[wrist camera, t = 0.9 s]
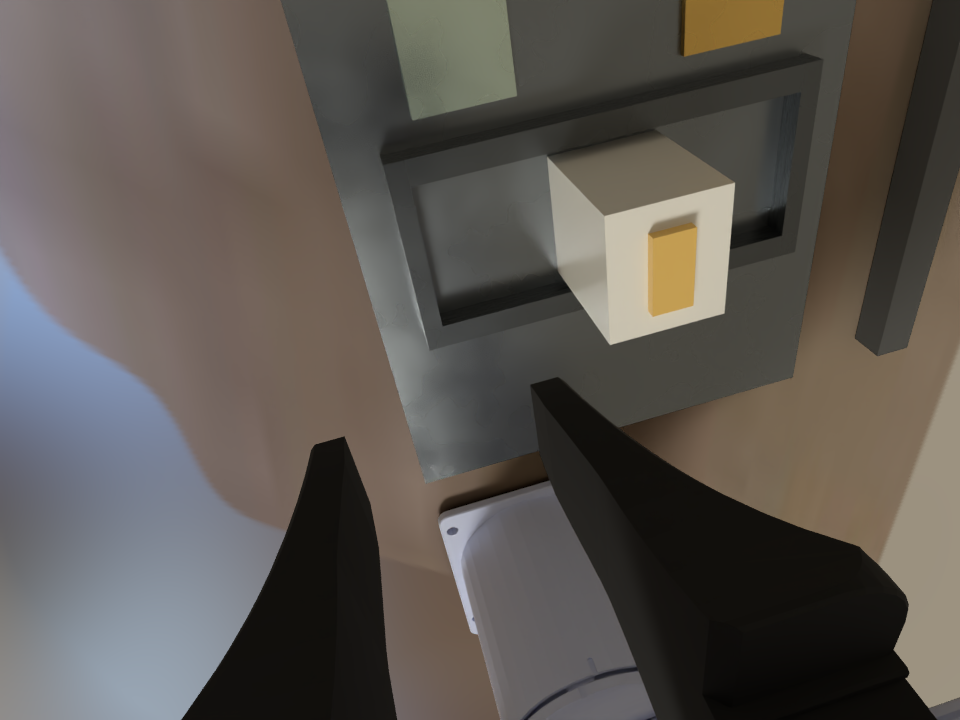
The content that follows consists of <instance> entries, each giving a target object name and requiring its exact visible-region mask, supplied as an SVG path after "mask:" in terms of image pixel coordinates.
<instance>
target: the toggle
mask: <svg viewBox="0 0 960 720" xmlns="http://www.w3.org/2000/svg"><path fill="white" fill-rule="evenodd" d="M547 162H548V172H549V183H550V193H551V204H552V214H553V225H554V235H555V245H556V256H557V266H558V272H559V274H560V275H561V277H562V278H563V279H564V281H565V282H566V284H567V285H568V286H569V288H570V289H571V291H572V292H573V294H574V295H575V296H576V298H577V299H578V301H579V302H580V303H581V305H582V306H583V308H584V309H585V310H586V312H587V313H588V315H589V316H590V318H591V319H592V320H593V322H594V323H595V325H596V326H597V327H598V329H599V330H600V332H601V333H602V334H603V336H604V337H605V339H606V340H607V342H608V343H609V344H610V345H612V344H616V343H619V342H623V341H627V340H630V339H634V338H637V337H641V336H645V335H648V334H652V333H655V332H659V331H663V330H666V329H670V328H674V327H677V326H681V325H684V324H688V323H692V322H695V321H699V320H702V319H706V318H710V317H713V316H717V315H720V314H724V312H725V300H726V288H727V276H728V264H729V252H730V239H731V227H732V215H733V203H734V191H735V182H733V181H732V180H730V179H729V178H727V177H726V176H724V175H723V174H721V173H720V172H718V171H717V170H715V169H714V168H712V167H711V166H709V165H708V164H706V163H705V162H703V161H702V160H700V159H699V158H697V157H696V156H694V155H693V154H691V153H690V152H688V151H687V150H685V149H684V148H683V147H681V146H680V145H678V144H677V143H675V142H674V141H672V140H671V139H669V138H668V137H666V136H665V135H663V134H662V133H660V132H659V131H657V130H654V131H650V132H646V133H641V134H637V135H633V136H629V137H625V138H621V139H617V140H613V141H609V142H605V143H601V144H597V145H593V146H589V147H584V148H580V149H576V150H572V151H568V152H564V153H560V154H556V155H552V156H548V157H547Z"/></svg>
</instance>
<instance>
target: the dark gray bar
mask: <svg viewBox="0 0 960 720" xmlns="http://www.w3.org/2000/svg"><path fill="white" fill-rule="evenodd" d="M959 168H960V0H933V4H932V8H931V12H930V17H929V21H928V25H927V30H926V34H925V38H924V43H923V47H922V51H921V55H920V60H919V64H918V68H917V73H916V77H915V81H914V86H913V90H912V94H911V99H910V103H909V107H908V112H907V116H906V120H905V125H904V129H903V133H902V138H901V142H900V146H899V151H898V155H897V159H896V164H895V168H894V172H893V177H892V181H891V185H890V189H889V194H888V198H887V202H886V207H885V211H884V215H883V220H882V224H881V228H880V233H879V237H878V241H877V246H876V250H875V254H874V259H873V263H872V267H871V272H870V276H869V280H868V285H867V289H866V293H865V298H864V302H863V306H862V310H861V315H860V319H859V323H858V328H857V332H856V336H855V339H856V340H858V341H859V342H860V343H861V344H863V345H864V346H865V347H866V348H868V349H869V350H870V351H871V352H873V353H874V354H875V355H876V356H880V355H883V354H887V353H890V352H894V351H897V350H900V349H904V348H907V346H908V342H909V339H910V335H911V332H912V328H913V325H914V322H915V318H916V315H917V311H918V308H919V305H920V301H921V298H922V294H923V291H924V287H925V284H926V281H927V277H928V274H929V270H930V267H931V264H932V260H933V257H934V253H935V250H936V246H937V243H938V240H939V236H940V233H941V229H942V226H943V223H944V219H945V216H946V212H947V209H948V205H949V202H950V199H951V195H952V192H953V188H954V185H955V181H956V178H957V175H958V171H959Z"/></svg>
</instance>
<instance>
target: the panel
mask: <svg viewBox="0 0 960 720" xmlns="http://www.w3.org/2000/svg"><path fill="white" fill-rule="evenodd" d="M281 3H282V6H283V9H284V13H285V16H286V19H287V23H288V26H289V29H290V33H291V36H292V39H293V43H294V46H295V49H296V53H297V56H298V59H299V63H300V66H301V69H302V73H303V76H304V79H305V83H306V86H307V89H308V93H309V96H310V99H311V103H312V106H313V109H314V113H315V116H316V119H317V123H318V126H319V129H320V133H321V136H322V139H323V143H324V146H325V149H326V153H327V156H328V159H329V163H330V166H331V169H332V173H333V176H334V179H335V183H336V186H337V189H338V193H339V196H340V199H341V203H342V206H343V209H344V213H345V216H346V219H347V223H348V226H349V229H350V233H351V236H352V239H353V243H354V246H355V249H356V253H357V256H358V259H359V263H360V266H361V269H362V273H363V276H364V279H365V283H366V286H367V289H368V293H369V296H370V299H371V303H372V306H373V309H374V313H375V316H376V319H377V323H378V326H379V329H380V333H381V336H382V339H383V343H384V346H385V349H386V353H387V356H388V359H389V363H390V366H391V369H392V373H393V376H394V379H395V383H396V386H397V389H398V393H399V396H400V399H401V403H402V406H403V409H404V413H405V416H406V419H407V423H408V426H409V429H410V433H411V436H412V439H413V443H414V446H415V449H416V453H417V456H418V459H419V463H420V466H421V469H422V473H423V476H424V479H425V483H429V482H433V481H436V480H440V479H443V478H447V477H450V476H454V475H457V474H460V473H464V472H467V471H471V470H474V469H478V468H481V467H485V466H488V465H492V464H495V463H498V462H502V461H505V460H509V459H512V458H516V457H519V456H523V455H526V454H529V453H533V452H536V451H539V445H538V438H537V431H536V424H535V417H534V410H533V403H532V396H531V389H530V384H534V383H538V382H541V381H545V380H548V379H552V378H555V377H559V378H561V379H563V380H564V381H565V382H566V383H567V384H568V385H569V386H570V387H571V388H572V389H573V390H574V391H575V392H577V393H578V394H579V395H580V396H581V397H582V398H583V399H584V400H585V401H587V402H588V403H589V404H590V405H591V406H592V407H594V408H595V409H596V410H597V411H598V412H599V413H601V414H602V415H603V416H604V417H605V418H607V419H608V420H609V421H610V422H612V423H613V424H614V425H616V426H617V427H618V428H619V427H623V426H626V425H629V424H633V423H636V422H640V421H643V420H647V419H650V418H654V417H657V416H661V415H664V414H667V413H671V412H674V411H678V410H681V409H685V408H688V407H692V406H695V405H698V404H702V403H705V402H709V401H712V400H716V399H719V398H723V397H726V396H729V395H733V394H736V393H740V392H743V391H747V390H750V389H754V388H757V387H761V386H764V385H767V384H771V383H774V382H778V381H781V380H785V379H788V378H792V377H793V373H794V367H795V361H796V355H797V349H798V343H799V337H800V331H801V325H802V319H803V313H804V307H805V302H806V296H807V290H808V284H809V278H810V272H811V266H812V260H813V254H814V248H815V242H816V236H817V230H818V224H819V219H820V213H821V207H822V201H823V195H824V189H825V183H826V177H827V171H828V165H829V159H830V153H831V147H832V141H833V136H834V130H835V124H836V118H837V112H838V106H839V100H840V94H841V88H842V82H843V76H844V70H845V64H846V58H847V53H848V47H849V41H850V35H851V29H852V23H853V17H854V11H855V5H856V0H281ZM654 130H657V131H659V132H660V133H662V134H663V135H665V136H666V137H668V138H669V139H671V140H672V141H674V142H675V143H677V144H678V145H680V146H681V147H683V148H684V149H685V150H687V151H688V152H690V153H691V154H693V155H694V156H696V157H697V158H699V159H700V160H702V161H703V162H705V163H706V164H708V165H709V166H711V167H712V168H714V169H715V170H717V171H718V172H720V173H721V174H723V175H724V176H726V177H727V178H729V179H730V180H732V181H733V182H735V191H734V203H733V215H732V227H731V239H730V252H729V264H728V276H727V288H726V300H725V312H724V314H720V315H717V316H713V317H710V318H706V319H702V320H699V321H695V322H692V323H688V324H684V325H681V326H677V327H674V328H670V329H666V330H663V331H659V332H655V333H652V334H648V335H645V336H641V337H637V338H634V339H630V340H627V341H623V342H619V343H616V344H612V345H610V344H609V343H608V342H607V340H606V339H605V337H604V336H603V334H602V333H601V332H600V330H599V329H598V327H597V326H596V325H595V323H594V322H593V320H592V319H591V318H590V316H589V315H588V313H587V312H586V310H585V309H584V308H583V306H582V305H581V303H580V302H579V301H578V299H577V298H576V296H575V295H574V294H573V292H572V291H571V289H570V288H569V286H568V285H567V284H566V282H565V281H564V279H563V278H562V277H561V275H560V274H559V272H558V266H557V256H556V245H555V235H554V225H553V214H552V204H551V193H550V183H549V172H548V162H547V157H548V156H552V155H556V154H560V153H564V152H568V151H572V150H576V149H580V148H584V147H589V146H593V145H597V144H601V143H605V142H609V141H613V140H617V139H621V138H625V137H629V136H633V135H637V134H641V133H646V132H650V131H654Z"/></svg>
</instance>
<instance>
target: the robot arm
mask: <svg viewBox="0 0 960 720" xmlns="http://www.w3.org/2000/svg"><path fill="white" fill-rule="evenodd" d="M530 389H531V396H532V403H533V410H534V417H535V424H536V431H537V438H538V445H539V452H540V456H541V459H542V461H543V464H544V467H545V469H546V472H547V475H548V477H549V481H546V482H543V483H539V484H536V485H533V486H529V487H526V488H522V489H519V490H516V491H512V492H509V493H505V494H502V495H499V496H495V497H492V498H488V499H485V500H482V501H478V502H475V503H472V504H468V505H465V506H461V507H458V508H455V509H451V510H448V511H445V512H443V513H442V514H441V515H440V516H439V518H438V523H439V527H440V531H441V534H442V537H443V541H444V544H445V547H446V551H447V554H448V557H449V561H450V564H451V567H452V571H453V574H454V577H455V581H456V584H457V587H458V591H459V594H460V597H461V600H462V604H463V607H464V611H465V614H466V617H467V620H468V624H469V628H470V631H471V632H472V633H474V634H478V635H479V639H480V643H481V647H482V651H483V655H484V658H485V662H486V666H487V670H488V673H489V677H490V681H491V685H492V689H493V693H494V697H495V700H496V704H497V708H498V712H499V716H500V719H501V720H960V698H957V699H954V700H951V701H948V702H946V703H943V704H940V705H937V706H934V707H931V708H928V707H927V706H926V705H925V703H924V702H923V701H922V699H921V698H920V697H919V696H918V694H917V693H916V692H915V690H914V689H913V688H912V687H911V685H910V684H909V683H908V681H907V680H906V679H905V678H907V677H908V675H909V671H908V668H907V666H906V665H905V664H904V662H903V661H902V660H901V659H900V657H899V656H898V655H897V654H896V652H895V651H894V650H893V649H894V647H895V645H896V642H897V640H898V638H899V635H900V633H901V631H902V628H903V626H904V624H905V621H906V617H907V612H908V605H909V604H908V601H907V598H906V595H905V594H904V593H903V592H902V591H901V589H900V588H899V587H898V586H897V585H896V584H895V583H894V581H893V580H892V579H891V578H890V577H889V576H888V575H887V573H886V572H885V571H884V570H883V569H882V568H881V567H880V566H879V565H878V564H877V563H876V562H875V561H874V560H872V559H871V558H870V557H869V556H868V555H867V554H866V553H865V552H864V551H863V550H862V549H861V548H860V547H859V546H856V545H853V544H850V543H846V542H843V541H840V540H837V539H834V538H831V537H828V536H825V535H822V534H819V533H815V532H812V531H809V530H806V529H803V528H801V527H798V526H795V525H793V524H790V523H788V522H785V521H782V520H780V519H777V518H775V517H772V516H770V515H767V514H765V513H762V512H760V511H758V510H756V509H754V508H751V507H749V506H747V505H745V504H743V503H741V502H738V501H736V500H734V499H732V498H730V497H728V496H725V495H723V494H721V493H719V492H718V491H716V490H714V489H712V488H710V487H708V486H706V485H704V484H703V483H701V482H699V481H697V480H695V479H694V478H692V477H690V476H689V475H687V474H685V473H683V472H682V471H680V470H678V469H677V468H675V467H674V466H672V465H670V464H669V463H667V462H666V461H664V460H663V459H661V458H660V457H658V456H657V455H655V454H654V453H652V452H651V451H649V450H648V449H646V448H645V447H643V446H642V445H641V444H639V443H638V442H637V441H635V440H634V439H632V438H631V437H630V436H628V435H627V434H626V433H625V432H623V431H622V430H621V429H619V428H618V427H617V426H616V425H614V424H613V423H612V422H610V421H609V420H608V419H607V418H605V417H604V416H603V415H602V414H601V413H599V412H598V411H597V410H596V409H595V408H594V407H592V406H591V405H590V404H589V403H588V402H587V401H585V400H584V399H583V398H582V397H581V396H580V395H579V394H578V393H577V392H575V391H574V390H573V389H572V388H571V387H570V386H569V385H568V384H567V383H566V382H565V381H564V380H563V379H561V378H559V377H555V378H552V379H548V380H545V381H541V382H538V383H534V384H530ZM452 527H453V528H452ZM449 528H450V529H449ZM182 720H397V716H396V711H395V705H394V699H393V693H392V688H391V681H390V675H389V669H388V661H387V652H386V639H385V626H384V613H383V598H382V584H381V570H380V557H379V547H378V541H377V536H376V530H375V525H374V520H373V515H372V510H371V505H370V501H369V499H368V496H367V494H366V491H365V488H364V486H363V483H362V481H361V478H360V475H359V473H358V470H357V468H356V465H355V462H354V460H353V457H352V455H351V452H350V449H349V447H348V444H347V442H346V439H345V436H344V437H341V438H337V439H334V440H330V441H327V442H323V443H319V444H316V445H314V447H313V448H312V450H311V453H310V458H309V462H308V466H307V470H306V474H305V477H304V481H303V484H302V488H301V491H300V494H299V498H298V501H297V504H296V506H295V509H294V512H293V515H292V518H291V521H290V524H289V527H288V529H287V532H286V535H285V537H284V540H283V542H282V545H281V547H280V549H279V552H278V554H277V556H276V559H275V562H274V564H273V566H272V569H271V571H270V573H269V575H268V577H267V580H266V581H265V584H264V586H263V588H262V590H261V592H260V594H259V596H258V598H257V600H256V602H255V604H254V606H253V608H252V609H251V612H250V613H249V615H248V617H247V619H246V621H245V622H244V624H243V626H242V628H241V629H240V631H239V633H238V635H237V636H236V638H235V640H234V641H233V643H232V645H231V647H230V648H229V650H228V652H227V653H226V655H225V656H224V658H223V660H222V661H221V663H220V664H219V666H218V667H217V669H216V671H215V672H214V673H213V675H212V676H211V678H210V679H209V681H208V682H207V684H206V685H205V686H204V688H203V689H202V691H201V692H200V694H199V695H198V697H197V698H196V700H195V701H194V702H193V704H192V705H191V707H190V708H189V710H188V711H187V713H186V714H185V715H184V717H183V718H182Z"/></svg>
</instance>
